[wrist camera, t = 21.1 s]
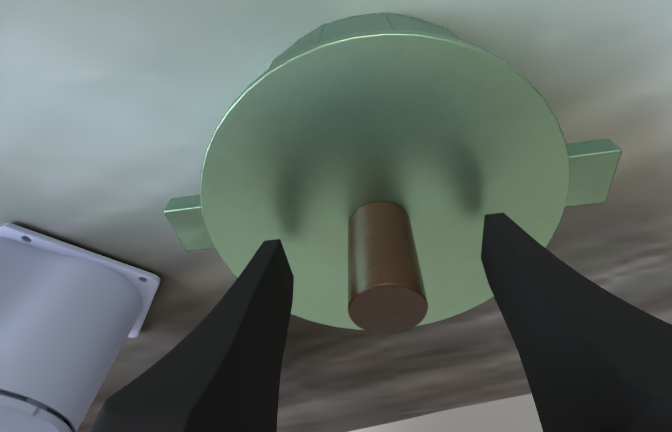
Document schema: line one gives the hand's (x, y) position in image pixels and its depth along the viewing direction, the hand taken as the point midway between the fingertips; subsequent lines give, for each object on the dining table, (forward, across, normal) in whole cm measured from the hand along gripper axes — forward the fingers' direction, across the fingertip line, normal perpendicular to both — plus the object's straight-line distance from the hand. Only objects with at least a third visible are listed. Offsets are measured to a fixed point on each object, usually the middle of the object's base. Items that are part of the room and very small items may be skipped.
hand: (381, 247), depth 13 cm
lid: (+2, 0, 0) cm, 2 cm away
